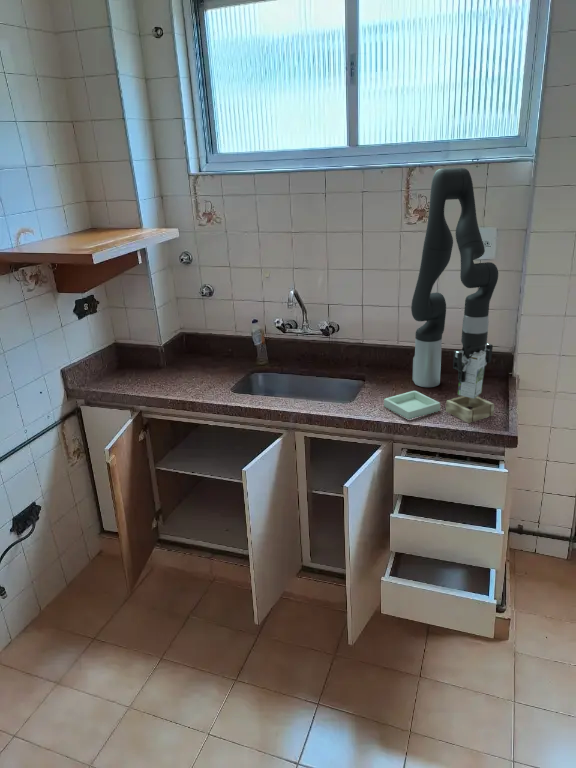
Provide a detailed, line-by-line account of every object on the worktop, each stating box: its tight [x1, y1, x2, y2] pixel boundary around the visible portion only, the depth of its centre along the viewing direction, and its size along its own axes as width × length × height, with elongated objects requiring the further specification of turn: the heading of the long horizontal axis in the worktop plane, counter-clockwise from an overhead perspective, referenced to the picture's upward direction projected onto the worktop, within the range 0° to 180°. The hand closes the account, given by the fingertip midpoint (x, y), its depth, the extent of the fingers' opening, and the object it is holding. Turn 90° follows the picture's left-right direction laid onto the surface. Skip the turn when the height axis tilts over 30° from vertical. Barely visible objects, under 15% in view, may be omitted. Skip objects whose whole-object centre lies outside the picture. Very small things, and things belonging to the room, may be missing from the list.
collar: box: [445, 395, 495, 424], centre depth 187 cm, size 10×10×4 cm
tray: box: [383, 390, 441, 419], centre depth 193 cm, size 13×13×3 cm
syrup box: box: [457, 351, 486, 399], centre depth 183 cm, size 6×6×14 cm
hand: (471, 378), depth 184 cm, fingers closed on syrup box, 7 cm apart
